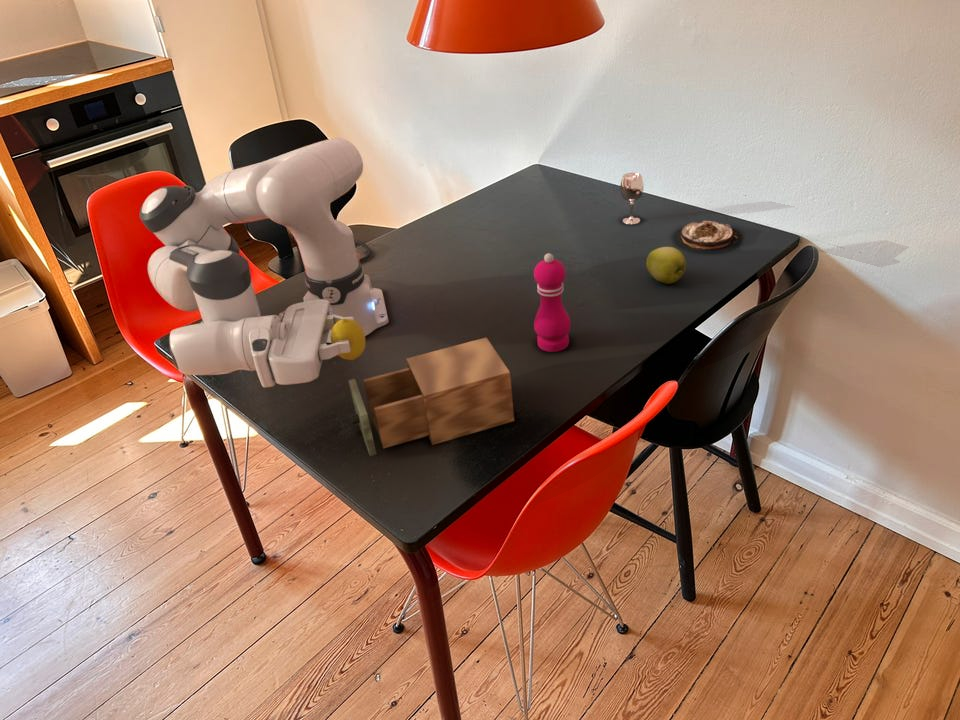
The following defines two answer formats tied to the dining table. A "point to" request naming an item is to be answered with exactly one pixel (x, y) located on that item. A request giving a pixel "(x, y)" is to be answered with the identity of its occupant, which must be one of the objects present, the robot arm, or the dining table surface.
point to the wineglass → (631, 192)
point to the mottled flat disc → (707, 235)
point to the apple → (666, 264)
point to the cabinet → (463, 389)
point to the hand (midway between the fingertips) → (352, 334)
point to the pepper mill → (551, 306)
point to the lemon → (349, 337)
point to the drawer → (390, 409)
